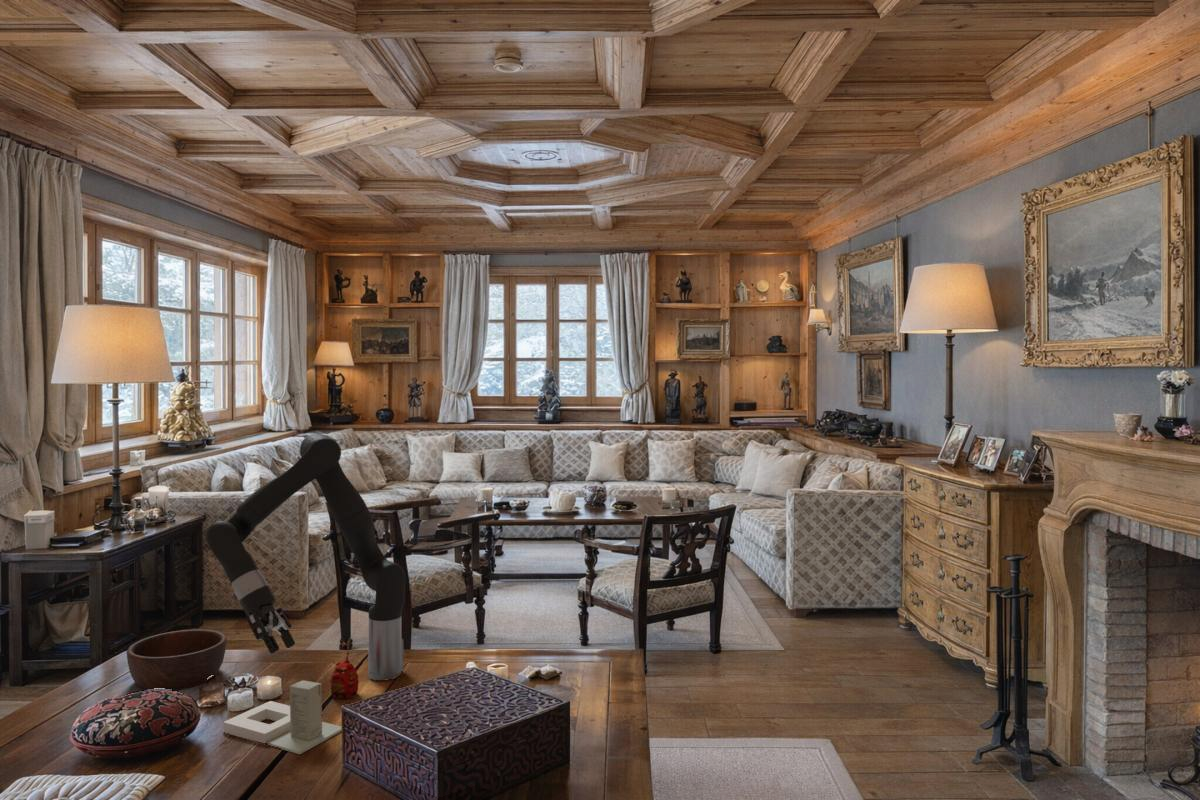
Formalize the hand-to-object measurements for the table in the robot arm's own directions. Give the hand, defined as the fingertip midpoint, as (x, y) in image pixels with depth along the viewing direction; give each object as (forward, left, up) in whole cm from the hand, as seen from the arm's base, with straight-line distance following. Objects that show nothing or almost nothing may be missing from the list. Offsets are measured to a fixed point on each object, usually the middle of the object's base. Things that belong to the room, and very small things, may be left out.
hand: (283, 648), depth 191 cm
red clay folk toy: (-20, +1, -19) cm, 27 cm away
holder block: (+3, -2, -19) cm, 19 cm away
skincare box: (+3, +11, -18) cm, 22 cm away
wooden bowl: (-8, -50, -19) cm, 54 cm away
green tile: (+3, +11, -19) cm, 22 cm away
